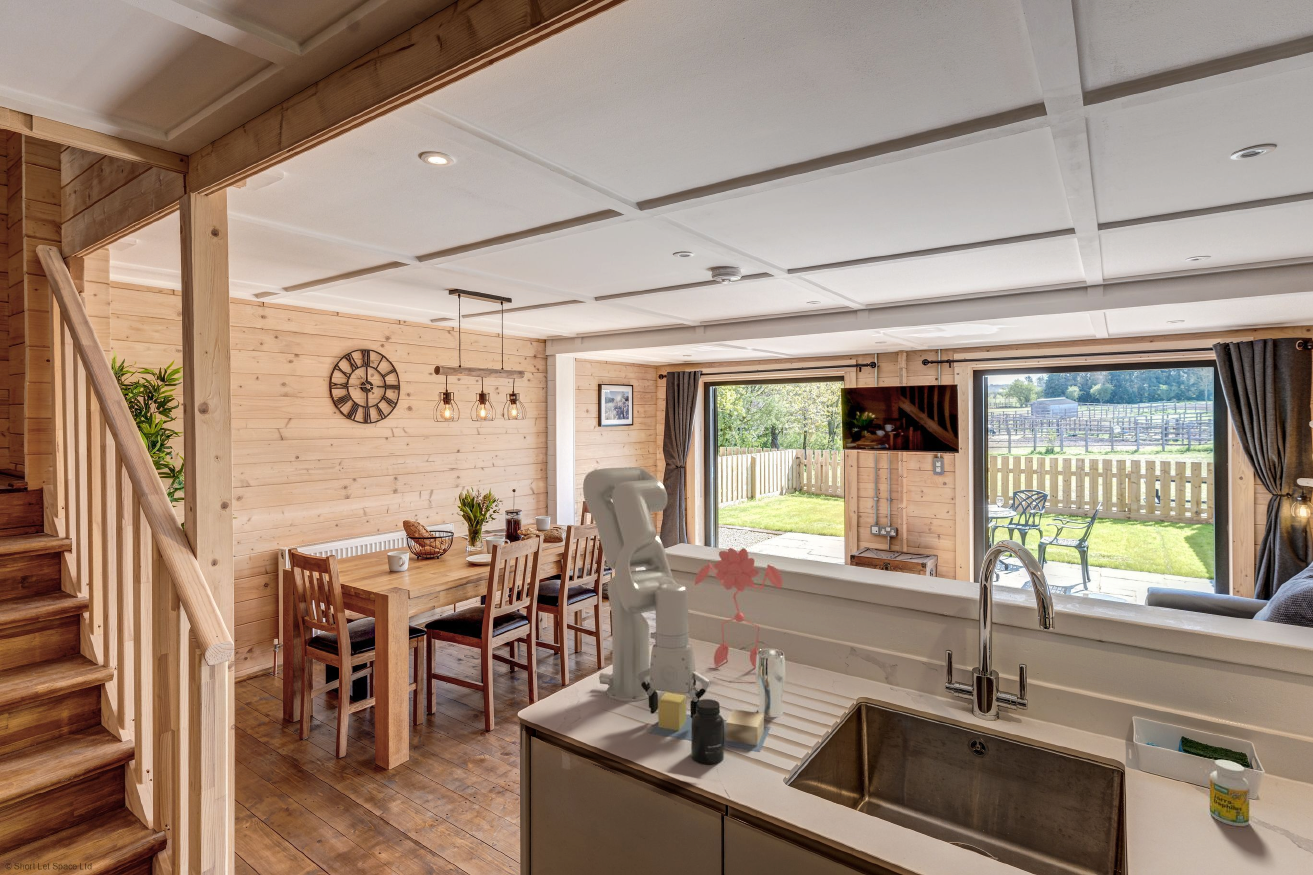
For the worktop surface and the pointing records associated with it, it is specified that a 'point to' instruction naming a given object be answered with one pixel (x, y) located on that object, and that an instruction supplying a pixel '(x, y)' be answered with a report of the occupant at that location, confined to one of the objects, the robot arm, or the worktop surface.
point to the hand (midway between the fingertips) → (674, 713)
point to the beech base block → (745, 727)
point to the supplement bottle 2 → (1229, 793)
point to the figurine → (738, 574)
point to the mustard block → (672, 711)
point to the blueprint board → (686, 734)
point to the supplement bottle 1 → (707, 733)
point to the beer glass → (770, 681)
